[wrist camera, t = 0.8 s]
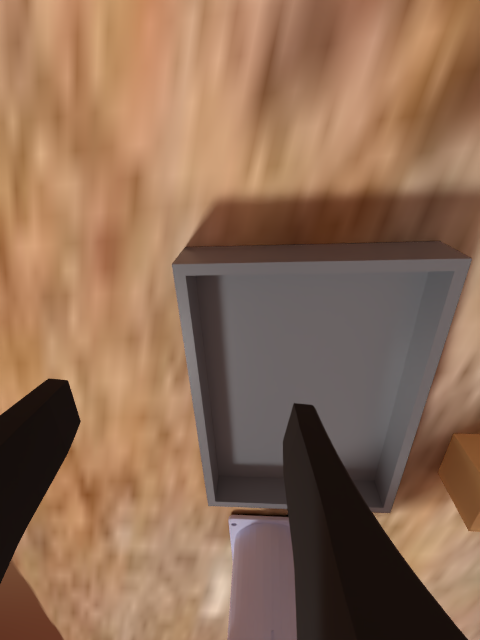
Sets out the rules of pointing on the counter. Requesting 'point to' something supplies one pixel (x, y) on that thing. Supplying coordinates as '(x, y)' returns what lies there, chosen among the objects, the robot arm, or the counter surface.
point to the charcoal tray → (312, 356)
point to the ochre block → (463, 477)
